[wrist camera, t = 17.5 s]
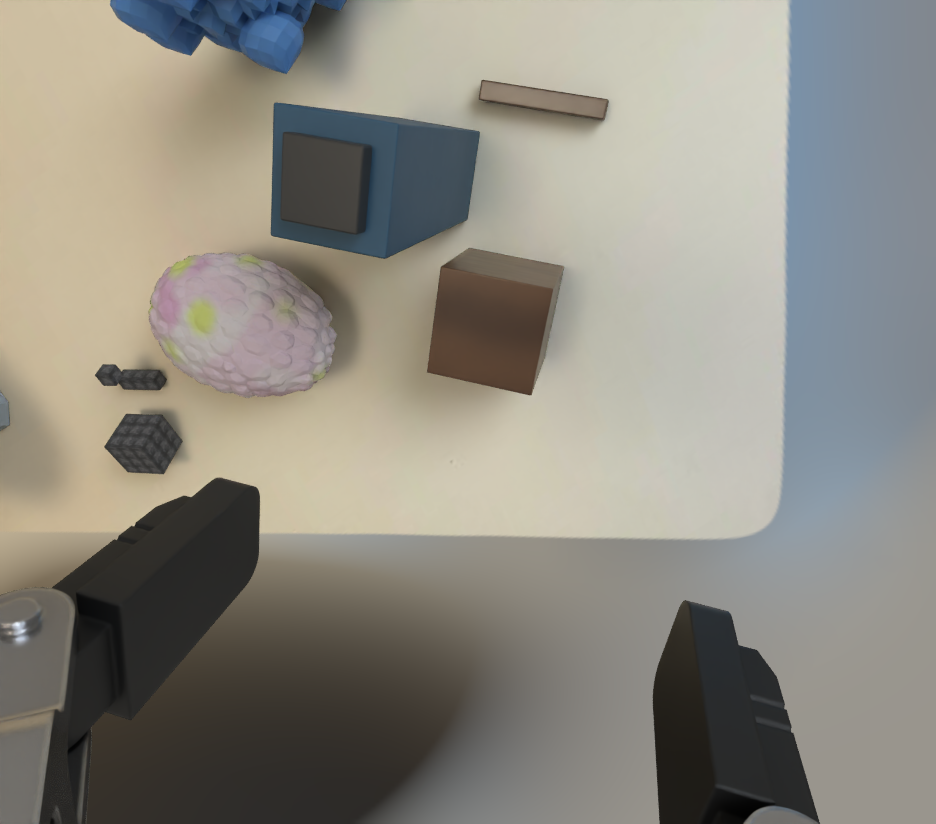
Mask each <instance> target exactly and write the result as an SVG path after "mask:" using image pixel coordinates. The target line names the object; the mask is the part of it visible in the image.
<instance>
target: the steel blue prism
mask: <svg viewBox="0 0 936 824" xmlns="http://www.w3.org/2000/svg"><path fill="white" fill-rule="evenodd" d="M479 136H480V132H479V131H473V130H467V129H461V128H456V127H450V126H444V125H438V124H432V123H426V122H420V121H414V120H408V119H402V118H395V117H387V116H380V115H372V114H364V113H356V112H348V111H340V110H332V109H324V108H316V107H308V106H300V105H292V104H284V103H274V122H273V165H272V208H271V235H272V236H274V237H279V238H284V239H289V240H294V241H299V242H304V243H309V244H314V245H319V246H324V247H329V248H334V249H339V250H344V251H348V252H353V253H358V254H363V255H368V256H373V257H378V258H383V259H385V258H388V257H390V256H392V255H394V254H396V253H398V252H400V251H402V250H404V249H407V248H409V247H411V246H413V245H415V244H417V243H419V242H421V241H423V240H425V239H427V238H430V237H432V236H434V235H436V234H438V233H440V232H442V231H444V230H446V229H448V228H451V227H453V226H455V225H457V224H459V223H461V222H463V221H465V220H467V218H468V211H469V204H470V197H471V190H472V183H473V177H474V170H475V163H476V156H477V149H478V142H479Z"/></svg>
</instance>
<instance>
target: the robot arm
mask: <svg viewBox="0 0 936 824" xmlns="http://www.w3.org/2000/svg"><path fill="white" fill-rule="evenodd" d="M259 519H260V494H259V491H258V489H257V488H256V487H254V486H250V485H246V484H242V483H239V482H235V481H231V480H227V479H223V478H216V479H214V480H212V481H211V482H210V483H208V484H207V485H206V486H205V487H204V488H202V489H201V490H200V491H199V492H197V493H196V494H195V495H194V496H192V497H187V496H182V497H179V498H177V499H174V500H172V501H169V502H167V503H165V504H162V505H160V506H157V507H155V508H154V509H153V510H152V511H150V512H149V513H148V514H146V515H145V516H144V517H143V518H141V519H140V520H139V521H137V522H136V524H135V526H134V527H133V526H131V527H130V528H128V529H127V530H126V531H124V532H123V533H122V534H121V535H119V537H118V539H117V540H113V541H112V542H110V543H109V544H108V545H106V546H105V547H104V548H103V549H101V550H100V551H99V552H97V553H96V554H95V555H94V556H92V557H91V558H90V559H88V560H87V561H86V562H84V563H83V564H82V565H81V566H79V567H78V568H77V569H75V570H74V571H73V572H72V573H70V574H69V575H68V576H66V577H65V578H64V579H63V580H61V581H60V582H59V583H57V584H56V585H55V586H53V587H52V588H44V587H40V588H39V587H34V588H25V589H19V590H14V591H11V592H7V593H5V594H2V595H0V824H86V815H87V801H88V786H89V773H90V759H91V745H92V732H91V727H92V725H94V723H95V722H96V721H97V720H98V719H99V718H100V717H101V716H102V715H103V714H104V712H107V713H110V714H113V715H116V716H119V717H122V718H125V719H128V720H132V718H133V717H134V716H135V715H136V714H137V713H138V711H139V710H140V709H141V708H142V707H143V706H144V704H145V703H146V702H147V701H148V700H149V699H150V697H151V696H152V695H153V694H154V693H155V692H156V690H157V689H158V688H159V687H160V686H161V684H162V683H163V682H164V681H165V680H166V679H167V678H168V676H169V675H170V674H171V673H172V672H173V671H174V669H175V668H176V667H177V666H178V665H179V664H180V662H181V661H182V660H183V659H184V658H185V656H186V655H187V654H188V653H189V652H190V651H191V649H192V648H193V647H194V646H195V645H196V643H197V642H198V641H199V640H200V639H201V638H202V637H203V635H204V634H205V633H206V632H207V631H208V630H209V628H210V627H211V626H212V625H213V624H214V623H215V621H216V620H217V619H218V618H219V617H220V616H221V614H222V613H223V612H224V611H225V610H226V609H227V607H228V606H229V605H230V604H231V603H232V601H233V600H234V599H235V598H236V597H237V596H238V594H239V593H240V592H241V591H242V590H243V588H244V587H245V586H246V585H247V583H248V582H249V580H250V579H251V577H252V575H253V573H254V570H255V568H256V564H257V561H258V555H259ZM784 705H785V704H784V700H783V697H782V693H781V690H780V686H779V683H778V679H777V677H776V675H775V674H774V673H773V671H772V670H771V668H770V667H769V666H768V664H767V663H766V662H765V660H764V659H763V658H762V656H761V655H760V654H759V652H758V651H757V650H754V649H751V648H747V647H743V646H739V645H738V641H737V637H736V633H735V629H734V624H733V620H732V616H731V614H730V613H729V612H728V611H724V610H720V609H717V608H713V607H709V606H705V605H701V604H698V603H694V602H690V601H686V600H685V601H683V602H682V604H681V606H680V607H679V610H678V613H677V615H676V618H675V621H674V624H673V626H672V629H671V632H670V634H669V637H668V640H667V643H666V645H665V648H664V651H663V653H662V656H661V659H660V662H659V665H658V668H657V672H656V676H655V681H654V689H653V714H654V731H655V749H656V765H657V766H656V767H657V784H658V802H659V820H660V824H820V822H819V819H818V816H817V812H816V809H815V806H814V802H813V799H812V796H811V792H810V789H809V785H808V782H807V778H806V775H805V771H804V768H803V765H802V761H801V758H800V754H799V751H798V748H797V744H796V741H795V737H794V734H793V733H791V724H790V720H789V717H788V713H787V710H785V709H784Z"/></svg>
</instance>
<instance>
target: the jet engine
mask: <svg viewBox="0 0 936 824" xmlns="http://www.w3.org/2000/svg"><path fill="white" fill-rule="evenodd" d="M9 425H10V423H9V405H8V401H7V400H6V398H5V397H4V396H3V394H2V393H1V392H0V431H1V430H3V429H4V428H6V427H7V426H9Z"/></svg>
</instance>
